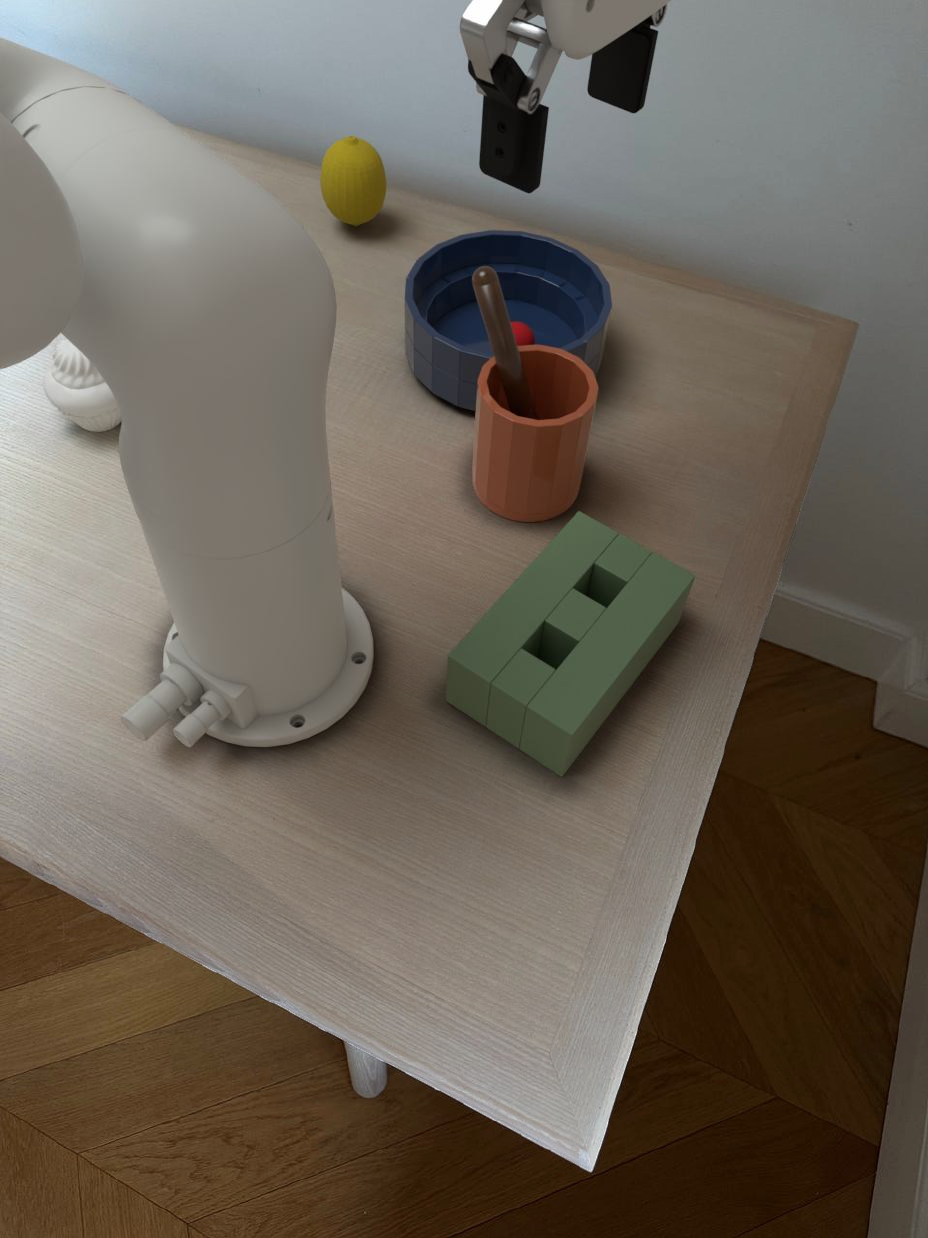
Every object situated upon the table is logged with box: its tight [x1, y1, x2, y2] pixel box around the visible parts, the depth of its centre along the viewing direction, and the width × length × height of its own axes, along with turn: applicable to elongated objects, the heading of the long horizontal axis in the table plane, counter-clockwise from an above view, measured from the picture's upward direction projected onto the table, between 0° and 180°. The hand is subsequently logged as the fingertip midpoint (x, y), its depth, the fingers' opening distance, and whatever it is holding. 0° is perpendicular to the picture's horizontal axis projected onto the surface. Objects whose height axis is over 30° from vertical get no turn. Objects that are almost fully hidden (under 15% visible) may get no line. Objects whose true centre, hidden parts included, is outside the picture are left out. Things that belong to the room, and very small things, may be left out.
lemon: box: [319, 135, 387, 227], centre depth 85 cm, size 6×6×8 cm
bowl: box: [404, 229, 613, 412], centre depth 77 cm, size 15×15×6 cm
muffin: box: [42, 337, 122, 433], centre depth 71 cm, size 6×6×7 cm
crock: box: [471, 345, 599, 523], centre depth 68 cm, size 8×8×9 cm
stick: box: [472, 266, 538, 420], centre depth 65 cm, size 2×2×16 cm
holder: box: [445, 510, 696, 778], centre depth 61 cm, size 8×14×5 cm, turn 144°
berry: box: [511, 322, 535, 346], centre depth 76 cm, size 3×3×3 cm
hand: (564, 140), depth 51 cm, fingers open, 9 cm apart
